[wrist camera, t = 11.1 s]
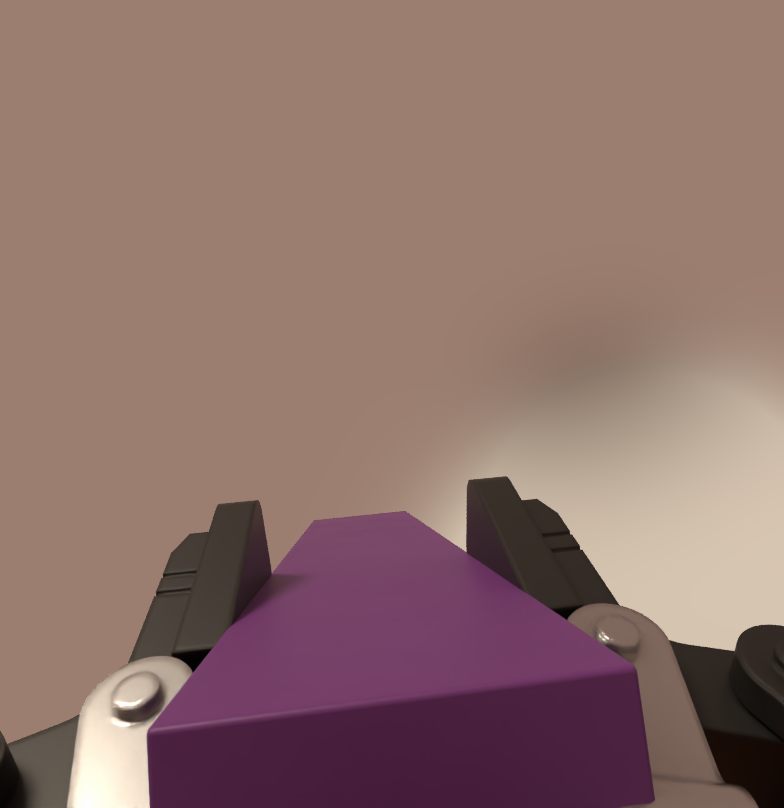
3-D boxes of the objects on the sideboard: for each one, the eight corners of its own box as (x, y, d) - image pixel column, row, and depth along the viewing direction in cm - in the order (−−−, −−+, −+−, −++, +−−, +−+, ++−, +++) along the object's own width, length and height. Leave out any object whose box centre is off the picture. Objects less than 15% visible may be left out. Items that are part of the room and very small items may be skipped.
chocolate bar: (665, 847, 5) (638, 664, 5) (152, 929, 4) (143, 730, 4) (408, 543, 24) (405, 510, 24) (315, 553, 24) (313, 520, 24)
